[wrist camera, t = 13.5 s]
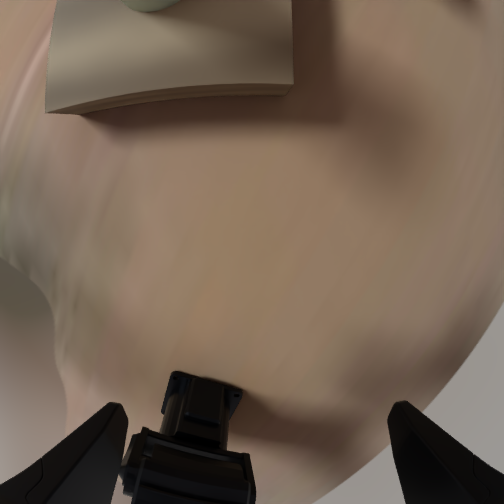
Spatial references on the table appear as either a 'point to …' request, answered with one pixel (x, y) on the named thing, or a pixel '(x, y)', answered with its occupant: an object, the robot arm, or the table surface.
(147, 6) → the mint green rounded cylinder
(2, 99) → the table surface
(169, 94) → the walnut riser block
